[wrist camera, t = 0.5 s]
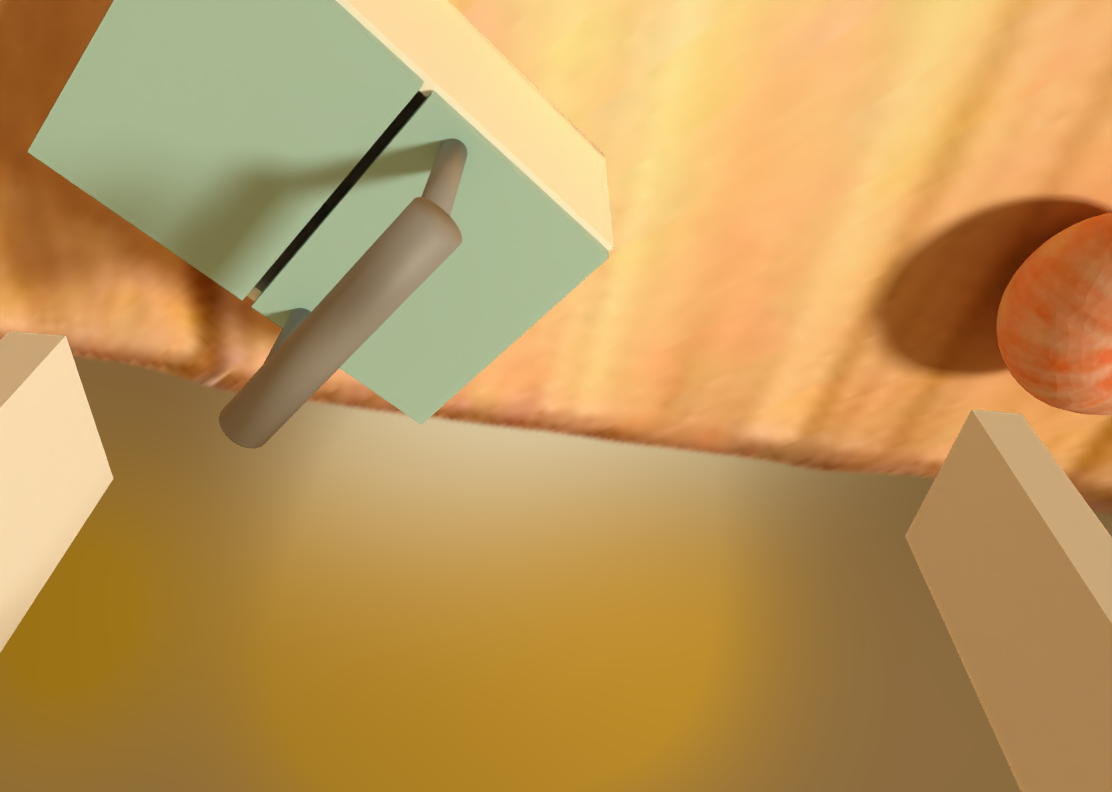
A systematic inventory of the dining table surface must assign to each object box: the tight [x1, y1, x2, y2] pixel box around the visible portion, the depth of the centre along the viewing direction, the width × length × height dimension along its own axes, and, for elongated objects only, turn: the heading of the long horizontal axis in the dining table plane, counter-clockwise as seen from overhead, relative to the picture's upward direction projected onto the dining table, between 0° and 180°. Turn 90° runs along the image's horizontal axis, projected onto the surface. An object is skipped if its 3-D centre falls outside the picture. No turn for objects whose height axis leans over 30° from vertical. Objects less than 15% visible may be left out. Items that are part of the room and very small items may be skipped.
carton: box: [247, 0, 614, 301], centre depth 34 cm, size 18×12×10 cm, turn 46°
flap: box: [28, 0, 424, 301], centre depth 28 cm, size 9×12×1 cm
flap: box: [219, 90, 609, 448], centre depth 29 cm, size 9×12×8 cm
